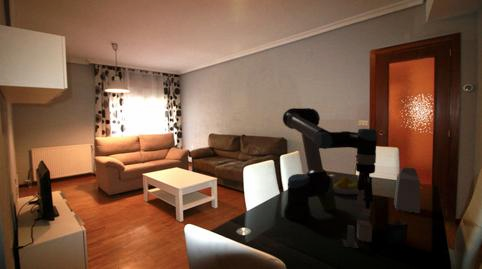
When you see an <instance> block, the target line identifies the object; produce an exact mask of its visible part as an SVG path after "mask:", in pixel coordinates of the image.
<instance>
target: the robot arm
mask: <svg viewBox="0 0 482 269" xmlns="http://www.w3.org/2000/svg"><path fill="white" fill-rule="evenodd" d="M319 114H320V113H318V111H317V110H316V109H314V108H309V107H307V108H306V107H305V108H302V107H301V108H300V107H298V108H295V107H292V108H288V109H287V110H286V111H285V112H284V113H283V116H282V122H283V124H284V126H285V127H287V128H289V129H290V130H295V131H297V132H299V134H301V139H302V144H303V149H304V154H305V160H306V166H307V167H306V168H307V172H306V174H305V173H295V174H291V175H290V176H289V177H288V179H287V202H286V205H285V208H284V210H283V216H284V217H285V218H286V219H288V220H290V221H295V222H308V221H309V220H311V219H312V212H311V208H310V205H309V198H313V197H318V196H324V195H328V194H330V193H331V191H332V189H333V180H334V179H333V178H332V177H331V176H330V175H329V174H327V171H326V170H325V169H324V168H323V167H324V166H323V162H322V158H321V152H320V149H323V150H326V149H337V148H338V149H341V148H344V149H345V148H353V149H356V155H355V159H356V165H355V170H356V172H358V178H357V183H358V184H357V187H358V193H357V202H356V203H357V204H358V205H363V208H362V209H363V210H362V215H363V216H368V217H371V213H372V212H371V210H372V202H373V201H374V198H373V177H371V176H370V175H371V174H374V173H375V172H376V162H377V143H378V142H377V141H378V133H377V132H378V131H377V130H376V129H374V128H358V129H357V130H358V131H357V132H355V131H348V130H347V131H345V130H344V131H343V130H342V131H328V130H326V129H325V128H324V127H321V126H319V125H320V119H321V118H320V115H319Z"/></svg>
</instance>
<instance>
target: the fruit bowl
mask: <svg viewBox="0 0 482 269" xmlns="http://www.w3.org/2000/svg"><path fill="white" fill-rule="evenodd" d="M332 180H333V189H335V190H334V194H338V195H343V196H350V195H358V187H357V184H358V182H354V181H352V179H350V178H349V177H348V176H345V175H344V176H342V177H340V178H339V179H332Z"/></svg>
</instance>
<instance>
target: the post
mask: <svg viewBox="0 0 482 269" xmlns="http://www.w3.org/2000/svg"><path fill="white" fill-rule="evenodd" d="M346 226H347V228H346V239H345V238H342V239H341V240H342V244H344V245H343V247H344V246H345V247H344V248H349V247H352V248H351V249H356V248H358V249H357V250H359V249H360V247H359V245H358V243H357V240H355V234H356V232H355V226H354V225H353V224H352V225H350V224H347V225H346Z"/></svg>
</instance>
